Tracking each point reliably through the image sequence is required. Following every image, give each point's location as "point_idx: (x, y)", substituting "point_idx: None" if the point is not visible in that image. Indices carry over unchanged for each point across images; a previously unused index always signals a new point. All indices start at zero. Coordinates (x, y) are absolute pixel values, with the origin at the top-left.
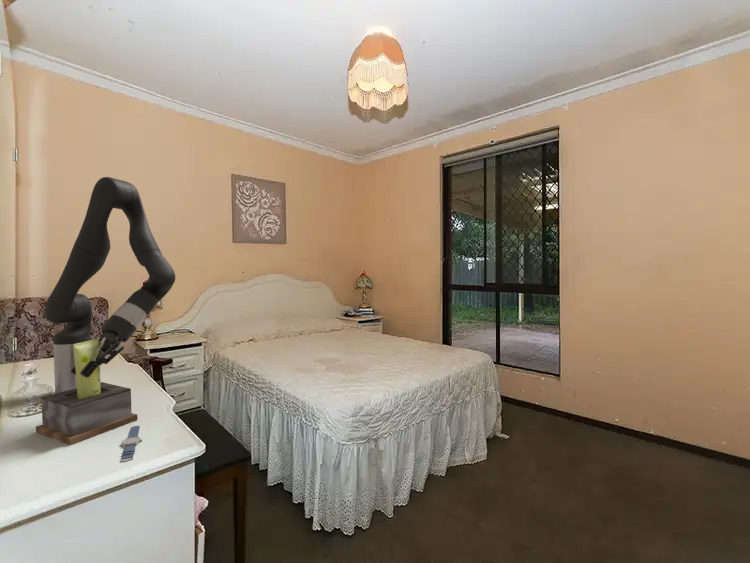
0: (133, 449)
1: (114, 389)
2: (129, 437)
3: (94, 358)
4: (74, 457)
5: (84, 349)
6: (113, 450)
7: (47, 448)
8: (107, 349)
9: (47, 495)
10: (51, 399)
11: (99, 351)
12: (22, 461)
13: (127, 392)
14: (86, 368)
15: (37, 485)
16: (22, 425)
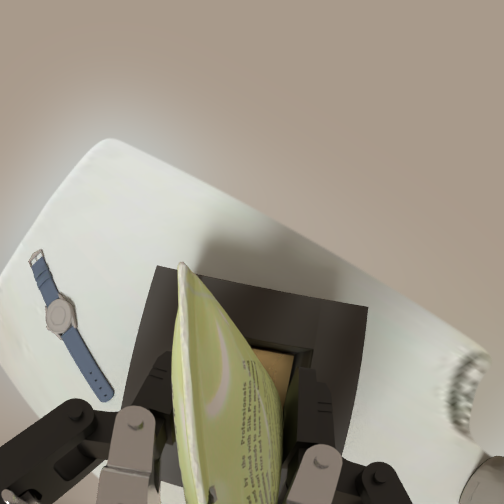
0: (39, 286)
1: (164, 450)
2: (76, 337)
3: (125, 418)
4: (122, 244)
5: (174, 411)
6: (72, 283)
7: (216, 260)
8: (28, 465)
9: (82, 163)
10: (304, 299)
11: (104, 476)
12: (210, 209)
13: None
14: (169, 368)
15: (112, 170)
16: (415, 334)
